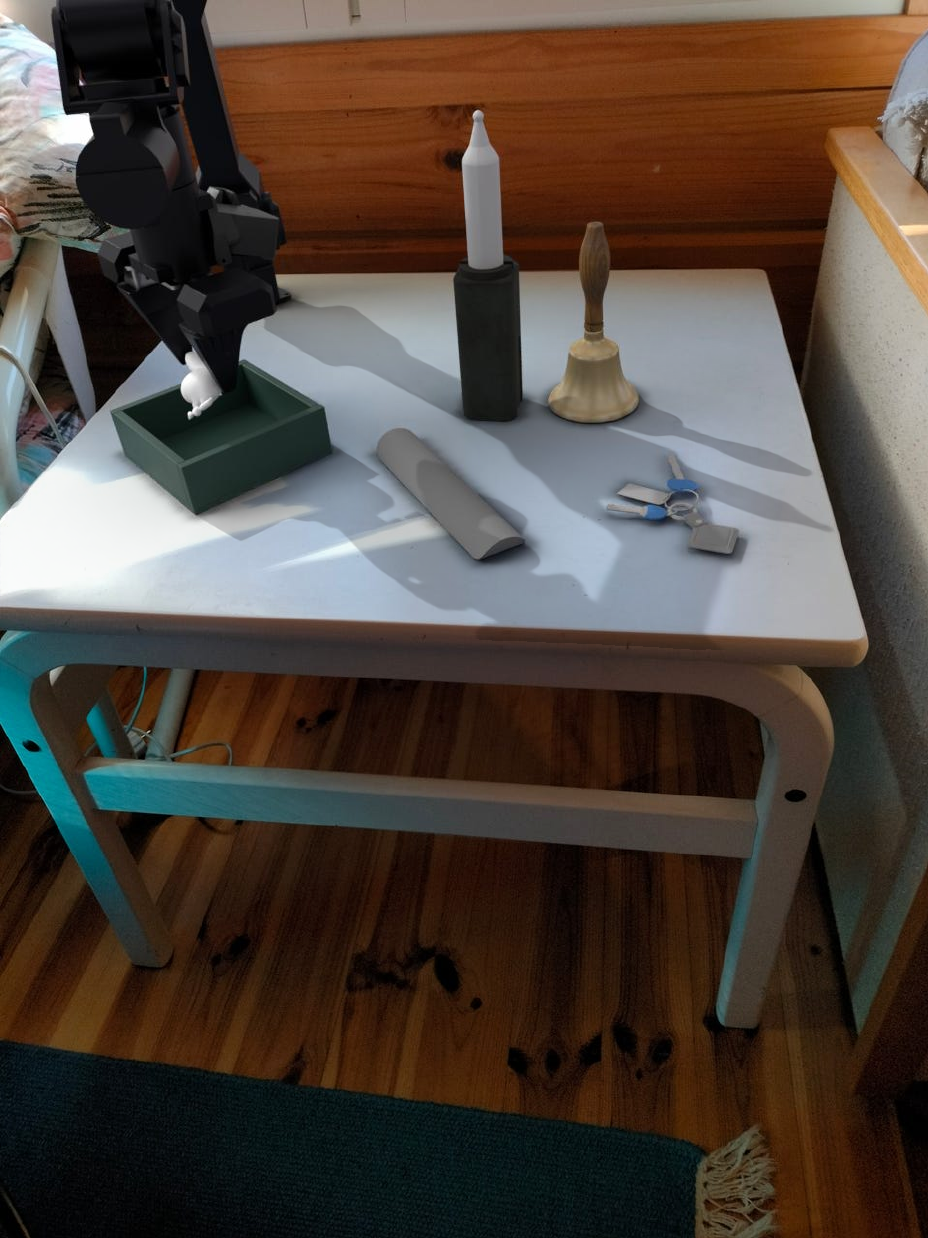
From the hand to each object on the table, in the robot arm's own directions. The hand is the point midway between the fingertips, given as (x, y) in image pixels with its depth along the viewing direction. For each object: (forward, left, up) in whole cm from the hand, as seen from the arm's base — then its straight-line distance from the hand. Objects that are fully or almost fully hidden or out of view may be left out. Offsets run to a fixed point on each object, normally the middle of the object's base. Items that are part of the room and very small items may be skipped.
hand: (208, 376), depth 81 cm
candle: (+11, +22, -8) cm, 26 cm away
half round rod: (+20, +9, -8) cm, 23 cm away
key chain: (+34, +19, -8) cm, 39 cm away
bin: (0, 0, -7) cm, 7 cm away
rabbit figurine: (+1, 0, -2) cm, 2 cm away
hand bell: (+17, +29, -8) cm, 34 cm away
